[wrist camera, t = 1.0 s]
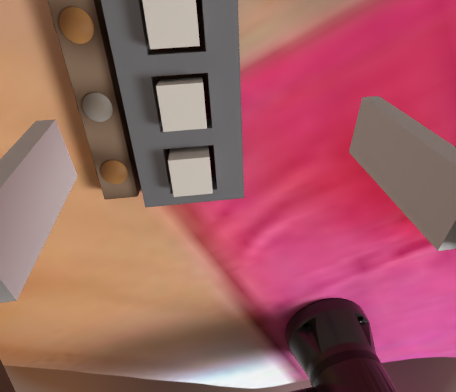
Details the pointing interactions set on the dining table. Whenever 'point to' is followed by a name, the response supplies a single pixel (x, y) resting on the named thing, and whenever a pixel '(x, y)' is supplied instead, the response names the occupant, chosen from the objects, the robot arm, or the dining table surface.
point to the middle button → (182, 104)
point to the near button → (171, 23)
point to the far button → (190, 171)
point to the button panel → (149, 106)
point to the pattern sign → (97, 93)
